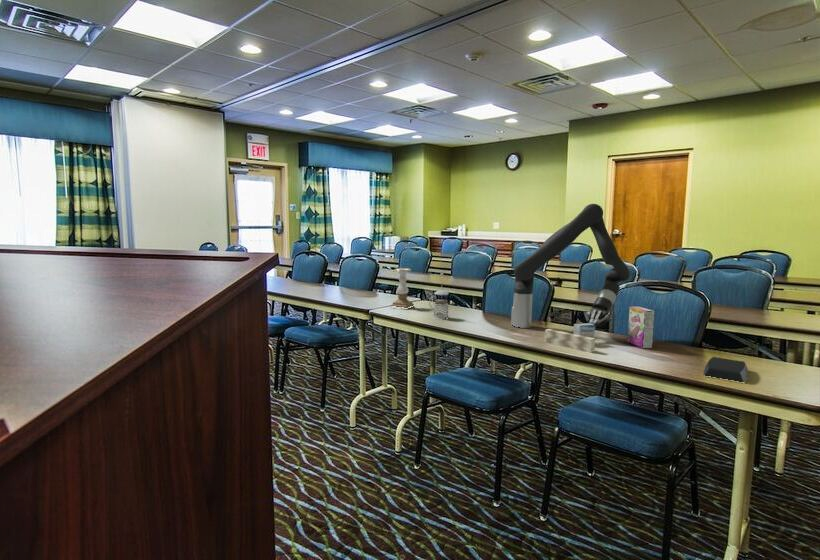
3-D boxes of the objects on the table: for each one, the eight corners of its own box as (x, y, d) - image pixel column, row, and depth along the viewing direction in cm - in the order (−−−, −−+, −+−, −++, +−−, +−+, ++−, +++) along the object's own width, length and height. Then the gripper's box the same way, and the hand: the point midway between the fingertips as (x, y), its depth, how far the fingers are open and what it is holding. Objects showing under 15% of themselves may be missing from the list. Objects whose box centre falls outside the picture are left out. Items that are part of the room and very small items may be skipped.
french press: (450, 319, 256) (451, 274, 253) (429, 319, 256) (429, 273, 253) (449, 316, 266) (450, 272, 263) (428, 315, 266) (429, 271, 263)
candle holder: (414, 306, 294) (414, 268, 291) (406, 309, 284) (407, 270, 282) (398, 305, 299) (398, 267, 296) (390, 308, 289) (390, 269, 286)
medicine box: (578, 345, 206) (580, 325, 205) (572, 342, 210) (573, 323, 209) (594, 344, 208) (595, 324, 207) (587, 341, 212) (588, 322, 211)
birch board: (544, 341, 211) (545, 329, 210) (548, 340, 213) (548, 328, 212) (590, 352, 194) (591, 339, 193) (594, 351, 196) (595, 338, 195)
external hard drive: (749, 371, 173) (750, 361, 173) (746, 385, 158) (748, 373, 157) (707, 365, 181) (708, 354, 180) (701, 377, 166) (702, 366, 165)
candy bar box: (626, 342, 212) (628, 306, 210) (636, 342, 213) (638, 306, 211) (642, 348, 201) (645, 310, 199) (652, 348, 202) (655, 310, 200)
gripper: (588, 294, 221) (573, 323, 215) (616, 298, 211) (601, 329, 205) (593, 304, 225) (578, 333, 219) (621, 308, 215) (606, 339, 209)
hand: (589, 331), depth 212 cm, fingers closed
